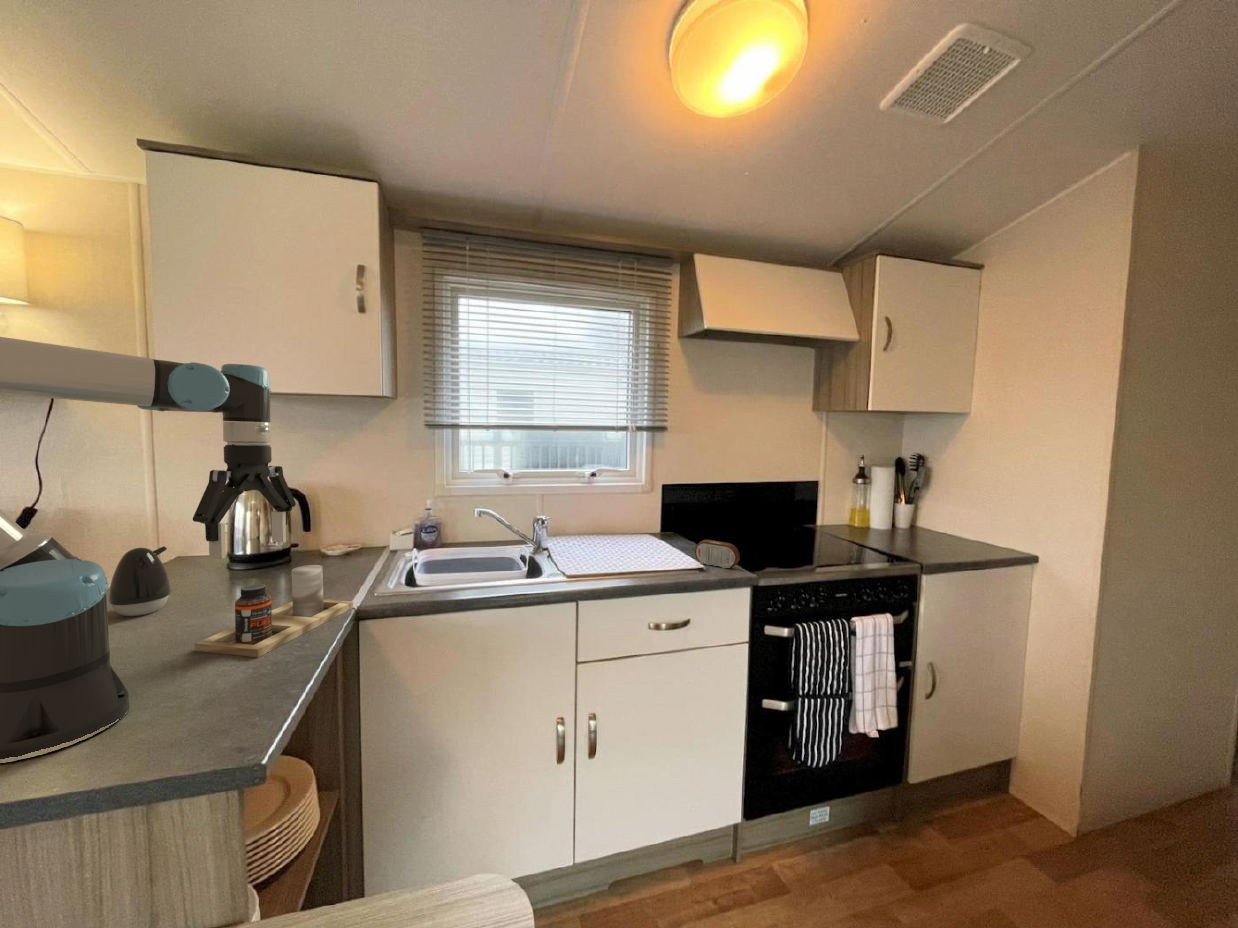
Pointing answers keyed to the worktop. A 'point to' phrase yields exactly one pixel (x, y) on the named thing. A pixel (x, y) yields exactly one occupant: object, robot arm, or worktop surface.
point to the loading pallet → (285, 616)
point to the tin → (717, 553)
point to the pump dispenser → (139, 583)
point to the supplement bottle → (253, 615)
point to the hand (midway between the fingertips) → (250, 549)
